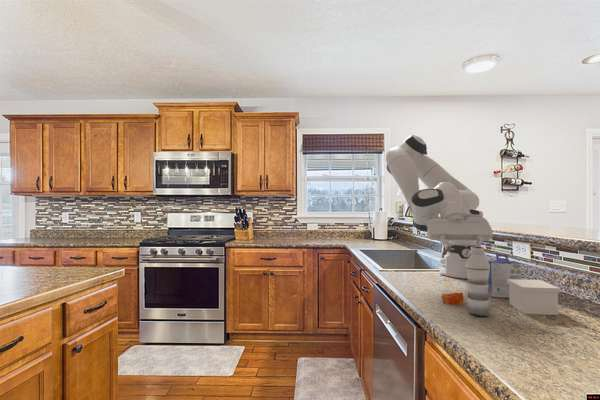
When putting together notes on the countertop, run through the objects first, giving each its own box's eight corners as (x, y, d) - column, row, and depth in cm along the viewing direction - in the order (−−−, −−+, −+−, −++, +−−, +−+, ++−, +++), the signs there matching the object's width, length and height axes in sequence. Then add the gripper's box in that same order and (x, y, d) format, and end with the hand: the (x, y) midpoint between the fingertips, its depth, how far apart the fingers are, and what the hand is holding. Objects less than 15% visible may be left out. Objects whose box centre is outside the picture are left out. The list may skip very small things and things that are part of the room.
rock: (426, 299, 110) (426, 287, 110) (459, 297, 111) (459, 286, 111) (445, 310, 98) (445, 297, 98) (481, 309, 99) (481, 295, 99)
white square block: (507, 303, 102) (506, 279, 103) (541, 304, 101) (540, 280, 101) (523, 314, 93) (522, 287, 93) (561, 315, 91) (560, 288, 91)
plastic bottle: (463, 314, 93) (462, 247, 93) (469, 309, 98) (468, 245, 98) (488, 320, 88) (486, 249, 88) (493, 313, 93) (492, 246, 93)
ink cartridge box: (516, 294, 112) (515, 254, 113) (523, 299, 107) (522, 256, 107) (485, 293, 114) (485, 253, 115) (492, 297, 109) (491, 256, 109)
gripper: (425, 211, 112) (431, 242, 103) (487, 211, 108) (500, 243, 99) (422, 223, 117) (428, 253, 107) (482, 223, 113) (494, 254, 103)
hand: (463, 248), depth 103 cm, fingers open, 8 cm apart
